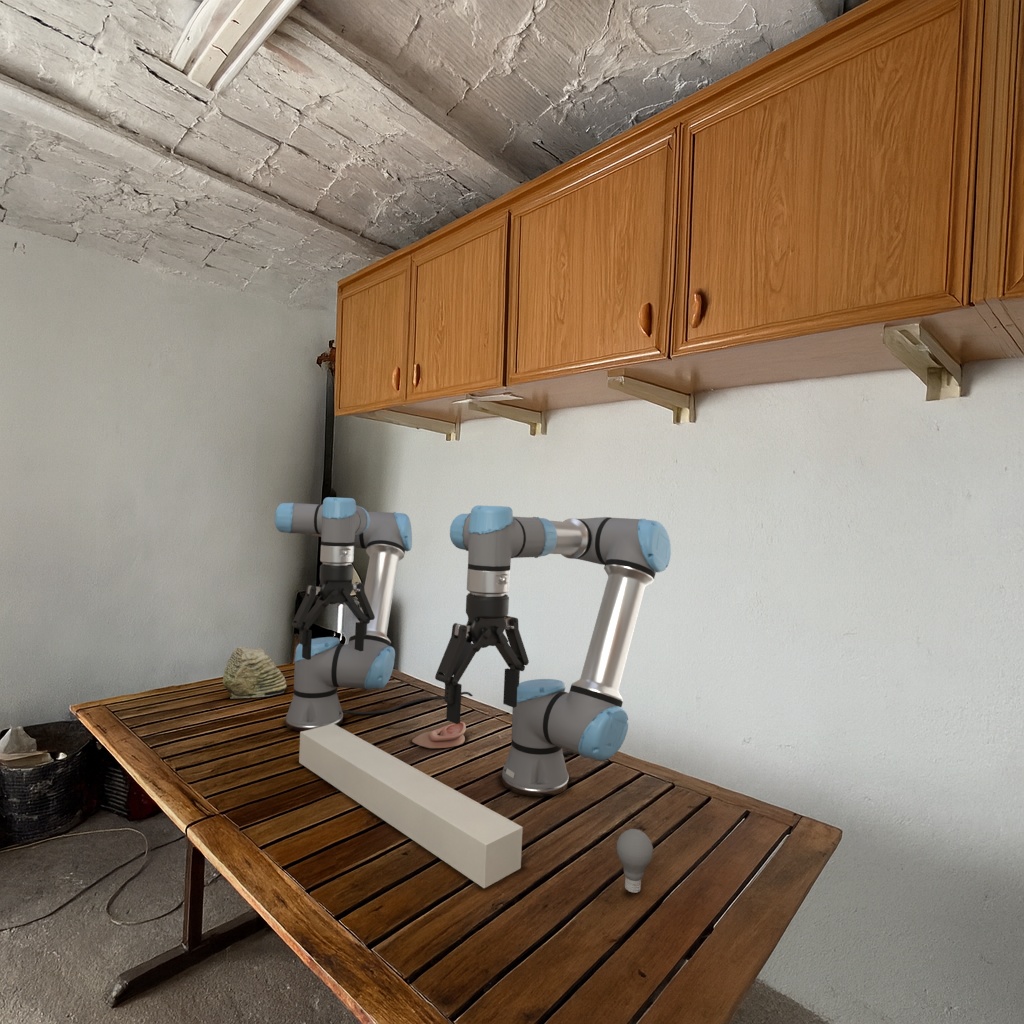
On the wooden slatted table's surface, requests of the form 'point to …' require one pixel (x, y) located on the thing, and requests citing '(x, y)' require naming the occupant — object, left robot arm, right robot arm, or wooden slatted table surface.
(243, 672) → the fossil
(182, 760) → the wooden slatted table surface
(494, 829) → the long square beam
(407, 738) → the wooden slatted table surface
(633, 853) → the light bulb
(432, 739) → the anatomical model
